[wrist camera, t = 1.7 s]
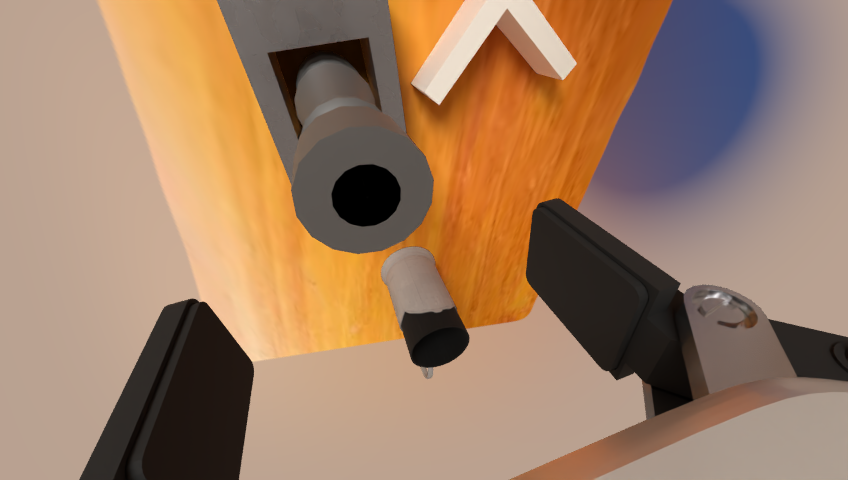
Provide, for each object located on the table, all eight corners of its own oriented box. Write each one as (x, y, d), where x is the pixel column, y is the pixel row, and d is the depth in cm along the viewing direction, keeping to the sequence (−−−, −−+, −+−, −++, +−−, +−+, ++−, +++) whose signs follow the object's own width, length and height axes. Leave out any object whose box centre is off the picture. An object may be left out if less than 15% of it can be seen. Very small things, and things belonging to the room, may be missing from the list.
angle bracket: (398, -17, 29) (413, -21, 25) (559, -37, 32) (594, -44, 28) (412, 97, 35) (425, 107, 31) (546, 71, 38) (574, 78, 34)
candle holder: (309, 123, 34) (316, 274, 14) (286, 56, 30) (253, 140, 10) (366, 110, 35) (445, 236, 15) (350, 44, 31) (430, 100, 11)
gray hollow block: (229, -6, 26) (212, -10, 22) (370, -23, 28) (383, -30, 24) (296, 171, 36) (295, 194, 31) (398, 149, 38) (411, 167, 33)
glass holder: (438, 243, 48) (480, 317, 37) (428, 309, 56) (460, 386, 45) (381, 249, 46) (408, 330, 34) (379, 316, 54) (400, 401, 42)
